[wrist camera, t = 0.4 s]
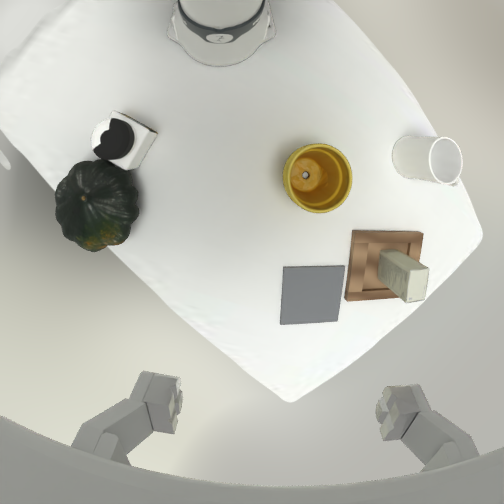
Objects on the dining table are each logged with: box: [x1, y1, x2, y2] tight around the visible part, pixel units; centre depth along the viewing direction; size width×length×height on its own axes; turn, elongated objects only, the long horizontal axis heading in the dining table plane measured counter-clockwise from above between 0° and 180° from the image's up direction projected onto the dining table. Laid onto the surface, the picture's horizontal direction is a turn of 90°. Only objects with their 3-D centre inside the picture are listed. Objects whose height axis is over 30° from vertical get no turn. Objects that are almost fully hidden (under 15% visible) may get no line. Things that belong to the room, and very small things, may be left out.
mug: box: [392, 136, 463, 186], centre depth 49 cm, size 12×8×12 cm
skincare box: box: [378, 249, 429, 303], centre depth 54 cm, size 6×4×12 cm
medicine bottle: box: [91, 111, 158, 170], centre depth 43 cm, size 7×7×12 cm
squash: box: [55, 159, 139, 252], centre depth 46 cm, size 14×15×15 cm
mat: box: [280, 266, 345, 325], centre depth 60 cm, size 12×12×1 cm
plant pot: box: [283, 144, 352, 213], centre depth 49 cm, size 10×10×10 cm
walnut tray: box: [344, 230, 423, 301], centre depth 60 cm, size 14×16×2 cm
